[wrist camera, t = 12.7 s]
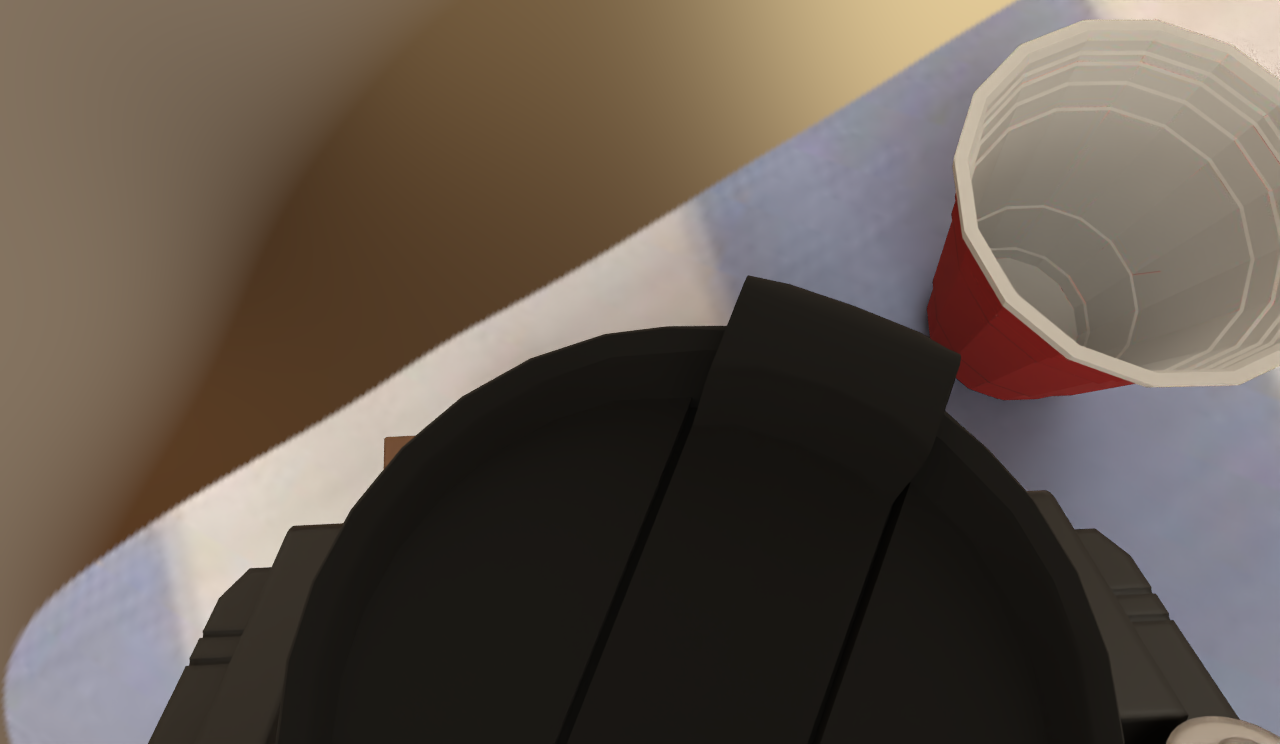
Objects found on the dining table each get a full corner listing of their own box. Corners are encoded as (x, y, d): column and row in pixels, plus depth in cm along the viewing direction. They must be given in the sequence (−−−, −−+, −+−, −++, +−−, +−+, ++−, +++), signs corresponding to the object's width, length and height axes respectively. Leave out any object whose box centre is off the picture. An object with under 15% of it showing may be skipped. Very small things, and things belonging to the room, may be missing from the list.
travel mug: (825, 581, 26) (1285, 447, 7) (737, 831, 25) (1014, 1534, 6) (606, 493, 27) (477, 149, 8) (508, 732, 26) (43, 1048, 6)
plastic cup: (1215, 354, 37) (1471, 228, 25) (992, 525, 36) (1155, 475, 24) (1021, 139, 39) (1173, -67, 28) (804, 292, 38) (869, 143, 26)
